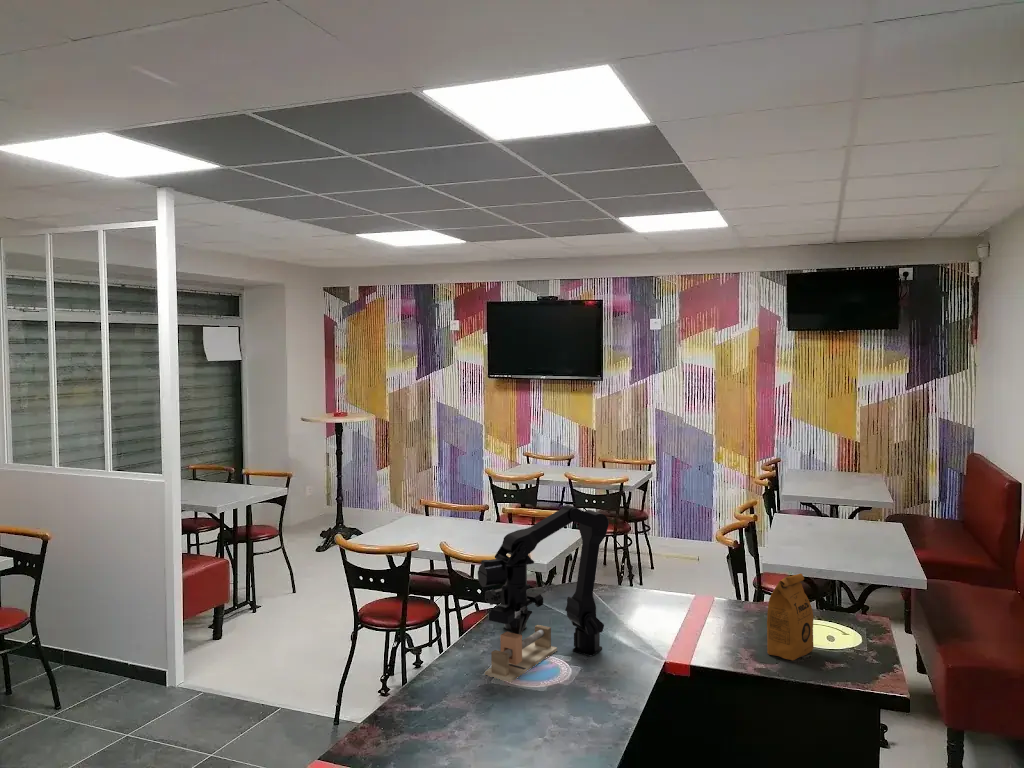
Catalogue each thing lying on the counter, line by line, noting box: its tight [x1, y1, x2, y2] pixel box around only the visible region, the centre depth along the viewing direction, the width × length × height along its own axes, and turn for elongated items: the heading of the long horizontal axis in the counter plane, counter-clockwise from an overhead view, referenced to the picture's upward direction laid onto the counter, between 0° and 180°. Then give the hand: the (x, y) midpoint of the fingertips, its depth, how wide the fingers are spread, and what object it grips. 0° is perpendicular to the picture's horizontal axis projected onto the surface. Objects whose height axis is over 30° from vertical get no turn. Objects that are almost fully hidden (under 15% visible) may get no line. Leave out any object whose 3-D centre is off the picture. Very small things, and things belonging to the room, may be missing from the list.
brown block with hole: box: [499, 631, 523, 665], centre depth 195 cm, size 3×5×7 cm, turn 56°
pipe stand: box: [484, 624, 558, 683], centre depth 200 cm, size 24×8×6 cm, turn 146°
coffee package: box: [766, 573, 815, 661], centre depth 204 cm, size 10×12×22 cm
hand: (516, 638), depth 198 cm, fingers closed
